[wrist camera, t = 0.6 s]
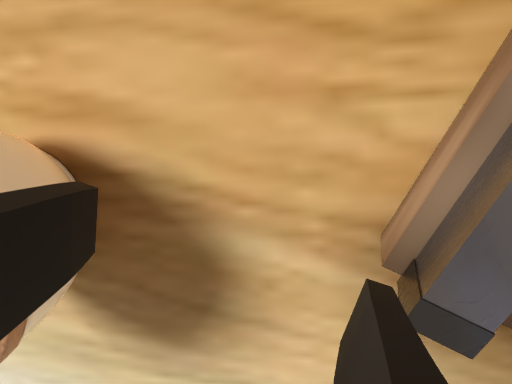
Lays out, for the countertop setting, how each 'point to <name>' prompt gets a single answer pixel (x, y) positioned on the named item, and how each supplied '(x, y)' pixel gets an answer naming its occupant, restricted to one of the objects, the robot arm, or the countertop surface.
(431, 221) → the stool seat
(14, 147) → the lidded jar
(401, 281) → the folding leg
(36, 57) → the countertop surface
